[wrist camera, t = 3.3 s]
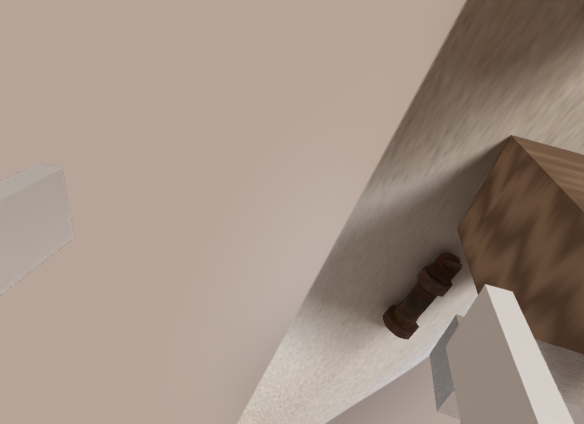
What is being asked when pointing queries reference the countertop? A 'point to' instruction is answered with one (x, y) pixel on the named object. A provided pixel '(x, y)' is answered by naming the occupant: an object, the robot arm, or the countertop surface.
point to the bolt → (422, 295)
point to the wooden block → (533, 237)
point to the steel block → (561, 362)
